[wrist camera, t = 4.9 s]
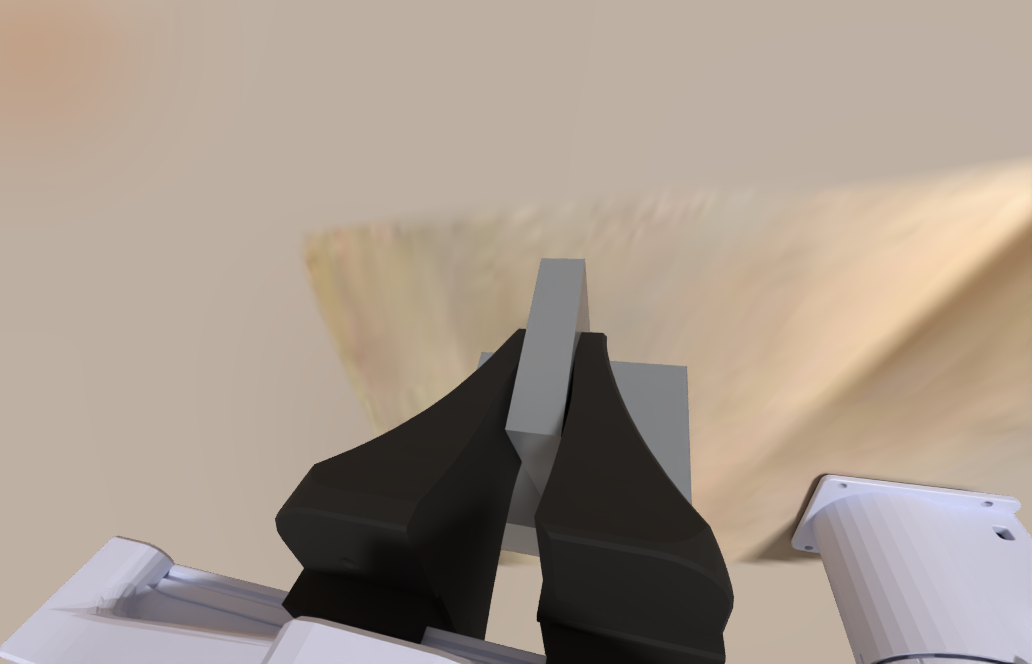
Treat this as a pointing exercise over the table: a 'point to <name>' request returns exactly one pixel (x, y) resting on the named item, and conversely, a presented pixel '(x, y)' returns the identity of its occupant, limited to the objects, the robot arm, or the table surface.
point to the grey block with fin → (548, 390)
